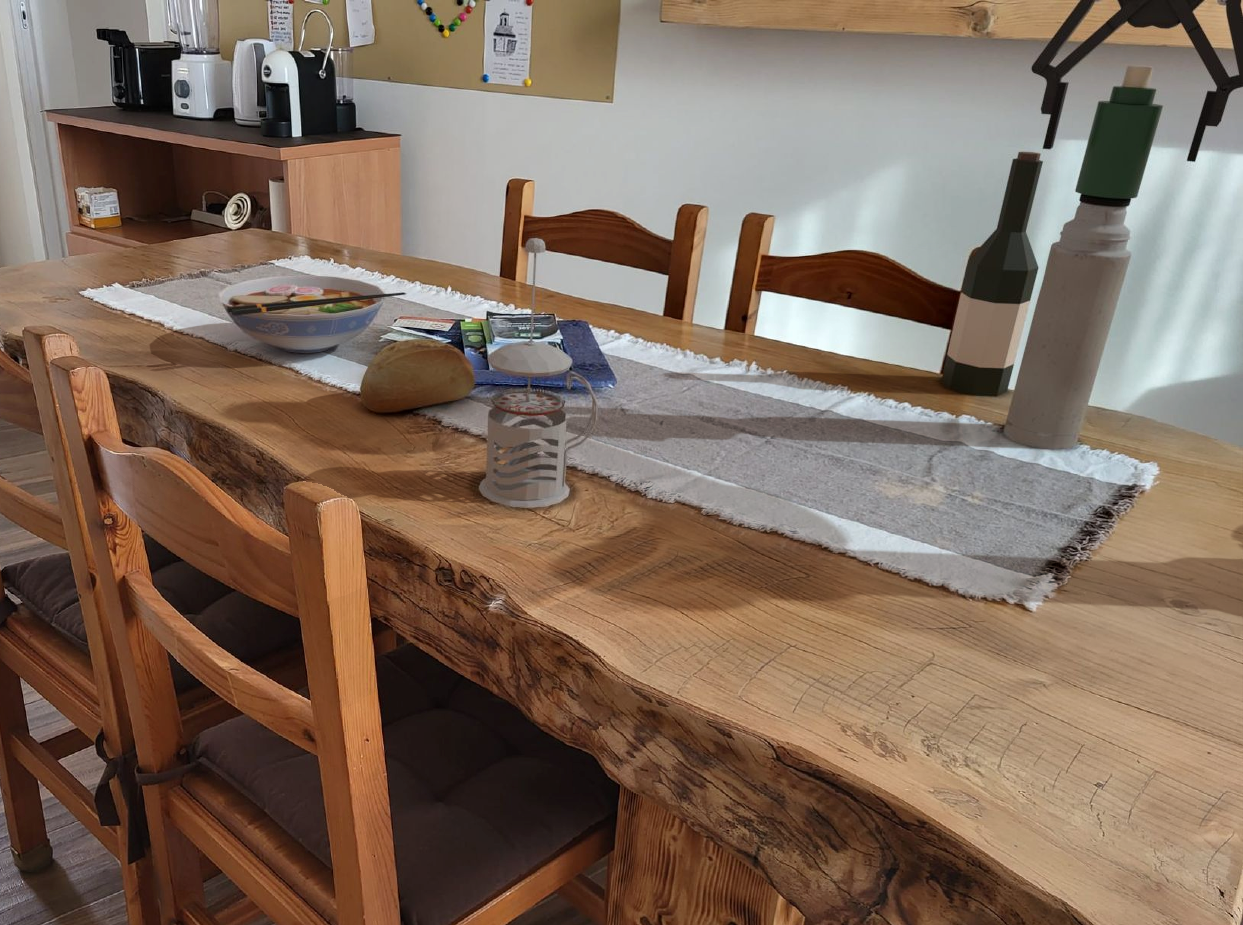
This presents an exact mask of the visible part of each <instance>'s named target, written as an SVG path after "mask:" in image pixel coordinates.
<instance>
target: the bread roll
mask: <svg viewBox="0 0 1243 925" xmlns="http://www.w3.org/2000/svg"><path fill="white" fill-rule="evenodd" d="M475 385H476V377H475V374H474V367H473V363H472V361H470V359H469V358H468V357H467V355H465V354H464V353H463V352H462V350H460V349H459V348H457V347H455V346H454V345H452V344H448V343H447V342H443V341H440V340H437V339H432V338H412V339H411V338H410V339H405V340H399V341H395V342H393V343H390V344H388V345H386V346H385V347H383V348H382V349H381V350H380V351H378V352H377V354H376V355H375V357H374V358H372V360H371V361H370V363H369V364H368V366H367V368H366V370H365V372H364V374H363V377H362V379H361V383H360V387H359V391H360V394H359V395H360V399H361V402H362V403H363V406H364V407H365V408H367V409H368V410H370V411H372V412H374V413H378V414H379V413H380V414H382V413H384V414H385V413H397V412H403V411H407V410H412V409H417V408H422V407H427V406H432V405H438V404H443V403H449V402H453V401H458V400H459V401H460V400H461V399H464V398H466V397H467V396H468V395H470V394H471V393H472V391H473V389H474V388H475Z"/></svg>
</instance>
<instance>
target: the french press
mask: <svg viewBox="0 0 1243 925" xmlns="http://www.w3.org/2000/svg"><path fill="white" fill-rule="evenodd" d="M524 247H525V248H524V251H525V252H526V253H531V254H533V271H532V272H533V273H532V293H531V312H530V313H531V314H530V334H529V340H522V341H517V342H511V343H508V344H505V345H502V346H499V348H497V349H495V350H493V351H492V352H490V353H489V355H488V357H487V362H488V363H489V366H490V367H491V368H492V369H494V370H496V371H497V372H500V373H502V374H507V375H511V376H515V377H516V376H517V377H527V378H528V380H527V387H526V388H525V387H523V388H522V387H521V388H520V387H516V388H515V387H514V388H508V389H505V390H504V389H503V390H502V391H498V392H496V393H494V394H493V395H492V397H491V399H490V401H491V403H492V404H493V406H494V407H492V408H491V409H490V410H488V413H487V437H486V464H485V466H486V470H485V471H486V472H485V478H483V480H481V481H480V484H479V486H478V491H479V492H480V493H481V495H482V496H483V497H484V498H486V499H488V500H489V501H491V502H493V503H496V504H500V505H503V506H507V507H513V508H527V509H530V508H542V507H543V508H544V507H545V508H546V507H548V506H549V507H550V506H552V505H555V504H558V503H561V502H563V501H564V500H565V499H566V498H568V497H569V494H570V490H571V489H570V487H569V486H568V485H567V484H566V472H567V456H568V452H569V451H570V450H572V449H574V448H577V447H578V446H580V445H582V444H583V443H584V442H585V441H586V440H587V439H588V438H590V436H591V434H592V433H593V431H594V429H595V427H596V424H597V421H598V410H599V409H598V408H599V406H598V400H597V396H596V395H595V393H594V390H593V389H592V387H591V383H589V381H587V379H586V378H585V377H583V376H582V375H580V374H578V373H577V372H576V371H569V370H570V368H571V366H572V364H573V359H572V358H571V357H570V356H569V355H568V354H567V353H566V352H564V350H562V349H560V348H557V347H555V346H553V345H551V344H549V343H547V342H543V341H534V340H533V334H534V312H535V295H536V294H535V292H536V291H535V290H536V273H537V272H536V270H537V269H536V268H537V254H542V253H546V242H545V241H544V240H543V239H542V238H537V237H532V238H529V239H527V241H526V243H525V246H524ZM567 371H568V372H567ZM565 372H567V374H566V378H565V379H566V380H565V381H566V384H565V385H566V388H567V390H568V391H570V390H571V389H572V381H577V382H579V383H581V384H582V385H584V386H585V388H586V389H587V390H588V391H589V393H590V395H591V400H592V402H591V403H592V406H591V408H592V409H591V415H590V418H589V420H588V422H587V424H586V426H585V427H584V430H583V431H581V432H579V434H577V435H575V436H574V437H571V438H570V439H569V438H568V439H567V440H566V434H567V433H566V432H567V421H568V420H567V419H568V418H567V414H566V413H565V411H564V410H563V409H564V407H565V405H566V404H565V403H566V400H565V399H564V398H563V397H562V395H560V394H558V393H555V392H553V391H551V390H547V389H546V390H544V389H542V390H541V388H536V389H535V388H532V387H531V378H538V377H539V378H540V377H552V376H557V375H561V374H563V373H565ZM571 375H573V376H571ZM570 376H571V377H570ZM519 416H525V417H526V416H527V417H531V418H524V419H520V420H519V421H516V422H514V423H512V424H511V425H505V424H507V423H508V422H510V421H511V420H513V419H515V418H517V417H519ZM538 416H544V417H546V418H547V419H548V420H550V421H551V422H552V423H551V424H552V425H550V424H549V423H547V422H546V421H543V420H541V419H537V418H535V417H538ZM591 424H592V425H591ZM532 425H534V426H537V427H540V428H525V427H527V426H532ZM590 426H591V427H590ZM522 427H524V428H522ZM589 428H590V429H589ZM588 430H589V431H588ZM587 432H588V433H587ZM585 433H587V435H586V436H585V437H584V438H582V439H581V440H580V441H578V442H576V443H574V444H572V445H569V446H568V447H567V448H566V446H567V445H568V444H570V443H572V442H574V441H576V440H578V439H579V438H581V437H582V436H583V435H584V434H585ZM537 440H542V441H544V442H545V443H547V444H541V443H538V442H535V441H537ZM504 448H509V449H508V450H506V451H504V452H502V453H500V452H499V451H500V450H502V449H504ZM540 452H541V453H543V454H545V455H546V456H548V457H544V456H542V455H538V454H536V453H540ZM500 461H505V463H503V464H501V465H500V464H499V462H500Z"/></svg>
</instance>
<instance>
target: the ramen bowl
mask: <svg viewBox="0 0 1243 925" xmlns="http://www.w3.org/2000/svg"><path fill="white" fill-rule="evenodd" d="M406 295H407V292H393V293H391V292H390V293H387V292H385V290H383V289H382V288H381V287H380V286H379V285H377V284H374V283H373V284H372V283H370V282H367V281H363V280H361V279H353V278H345V277H339V276H328V275H306V274H303V275H302V274H301V275H300V274H299V275H280V276H279V275H278V276H268V277H261V278H254V279H247V280H244V281H243V280H242V281H241V282H236V283H234V284H230V285H226V286H225V287H224V288H223V289H221V291H220V292H218V293H217V296H218V299H219V301H220V303H221V305H222V306H223V308H224V310H225V311H226V313H227V315H228V316H229V317H230V319H231V320H232V321H233V323H234V324H235V325H236V326H237V327H238V328H239V329H240V331H242V332H243V333H244V334H246V335H248V336H249V337H251V338H252V339H255V340H257V341H259V342H261V343H264V344H267V345H270V346H273V347H277V348H278V349H280V350H283V351H285V352H289V353H295V354H313V353H320V352H325V351H328V350H330V349H332V348H333V347H335V346H337V345H340V344H343V343H346V342H348V341H350V340H352V339H355V338H356V337H358V336H359V335H361V334H362V333H365V331H366V330H367V329H368V328H369V326H370V325H371V324H372V323H373V320H374V319H375V318H376V316H377V314H378V313H379V312H380V310H381V307H382V306H383V303H384V301H385V299H386V298H390V297H395V296H406Z"/></svg>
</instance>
